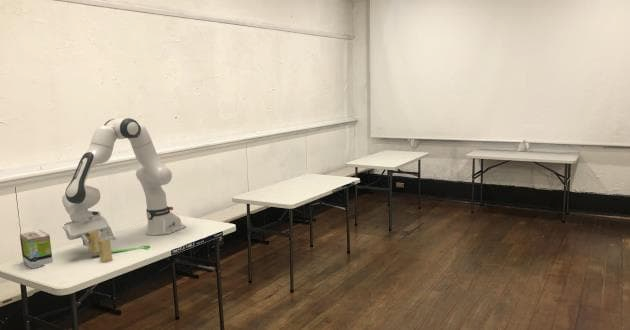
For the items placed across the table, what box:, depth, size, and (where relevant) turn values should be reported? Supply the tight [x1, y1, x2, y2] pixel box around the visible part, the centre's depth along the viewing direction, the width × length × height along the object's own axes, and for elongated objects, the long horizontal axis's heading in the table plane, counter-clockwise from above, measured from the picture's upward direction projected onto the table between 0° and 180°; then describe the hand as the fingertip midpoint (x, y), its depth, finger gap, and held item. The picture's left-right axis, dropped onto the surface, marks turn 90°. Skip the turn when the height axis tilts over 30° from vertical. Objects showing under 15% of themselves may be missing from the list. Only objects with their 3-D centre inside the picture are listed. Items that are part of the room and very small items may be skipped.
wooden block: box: [87, 230, 99, 254], centre depth 251 cm, size 4×4×10 cm
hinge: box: [81, 226, 117, 247], centre depth 279 cm, size 17×5×10 cm, turn 141°
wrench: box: [97, 244, 151, 256], centre depth 259 cm, size 25×2×5 cm
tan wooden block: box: [98, 239, 113, 263], centre depth 245 cm, size 4×4×10 cm
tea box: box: [19, 229, 54, 269], centre depth 249 cm, size 15×10×15 cm
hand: (94, 241), depth 251 cm, fingers closed on wooden block, 4 cm apart
